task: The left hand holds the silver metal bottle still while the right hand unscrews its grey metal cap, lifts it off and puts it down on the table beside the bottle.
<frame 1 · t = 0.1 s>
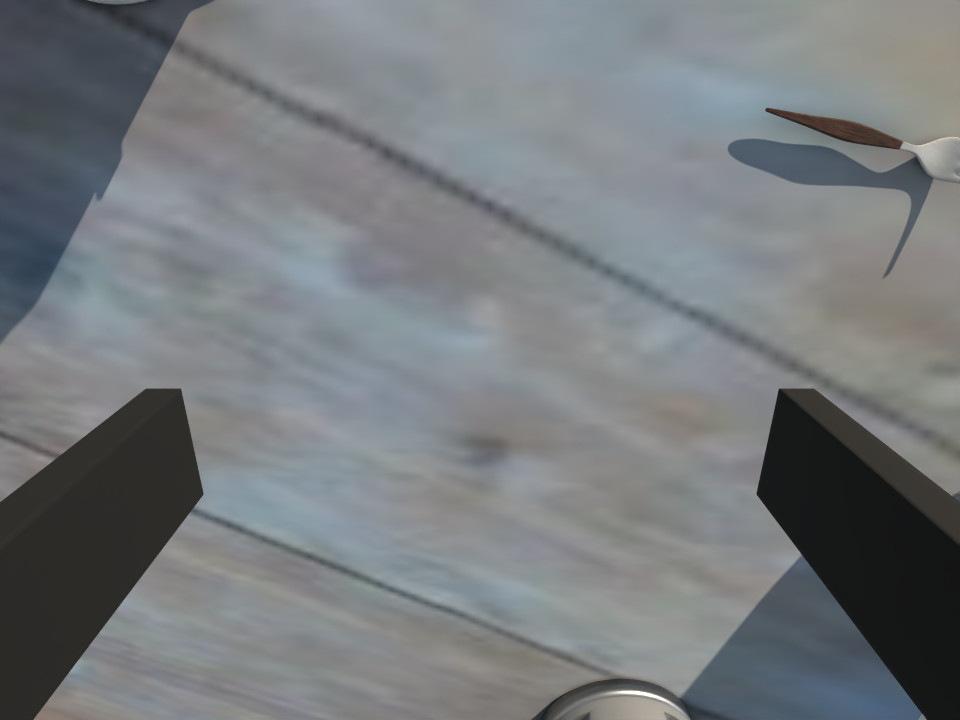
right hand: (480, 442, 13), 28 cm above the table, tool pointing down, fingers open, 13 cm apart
fork: (876, 140, 37), on the table
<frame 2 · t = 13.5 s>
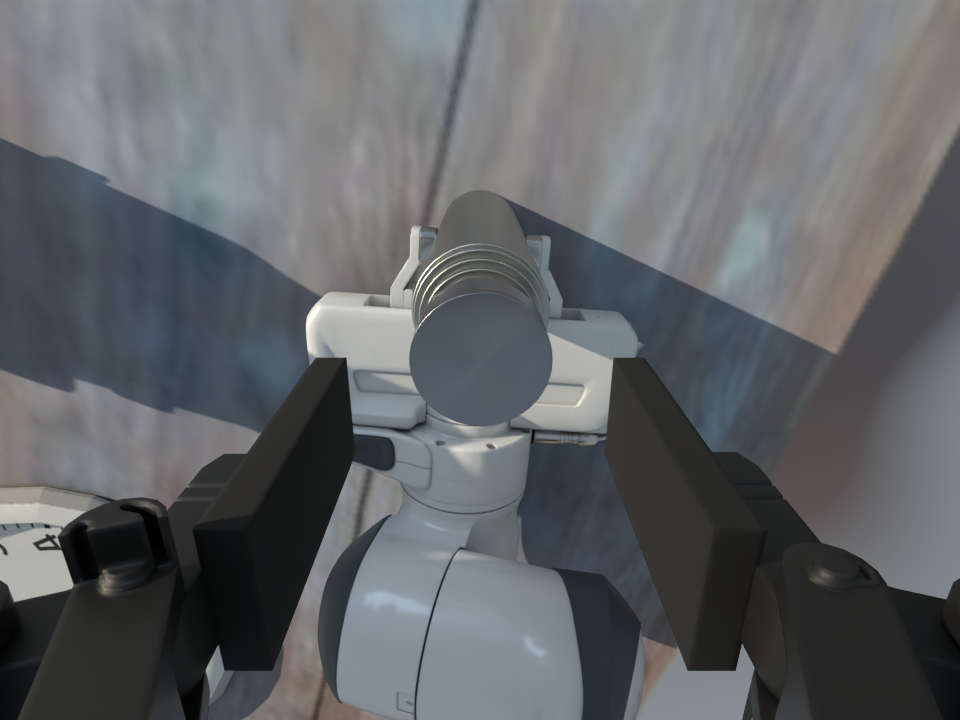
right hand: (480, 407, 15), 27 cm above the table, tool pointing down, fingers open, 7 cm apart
left hand: (480, 231, 34), fingers closed on bottle, 5 cm apart
cap: (480, 359, 18), point 24 cm above the table, screwed on, not yet turned
bottle: (480, 229, 40), on the table, touching left hand
wall clock: (77, 621, 53), on the table
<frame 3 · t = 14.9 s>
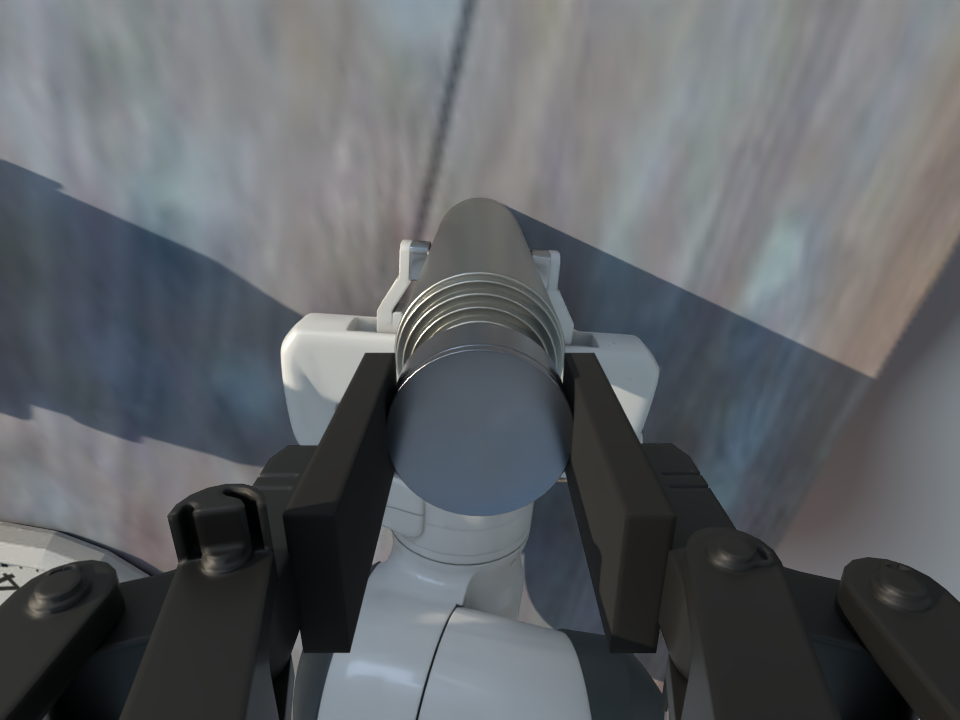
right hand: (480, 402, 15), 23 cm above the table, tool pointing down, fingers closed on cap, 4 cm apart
cap: (479, 431, 13), point 24 cm above the table, screwed on, not yet turned, touching right hand
bottle: (479, 241, 36), on the table, touching left hand
wall clock: (42, 664, 49), on the table
when the right hand's fingers open (2 cm above the table, at t = 31.3 s): cap drops 2 cm, point 2 cm above the table.
when the left hand's fingers open (6 cm above the table, at t = 32.7 s): bottle stays where it is, on the table.
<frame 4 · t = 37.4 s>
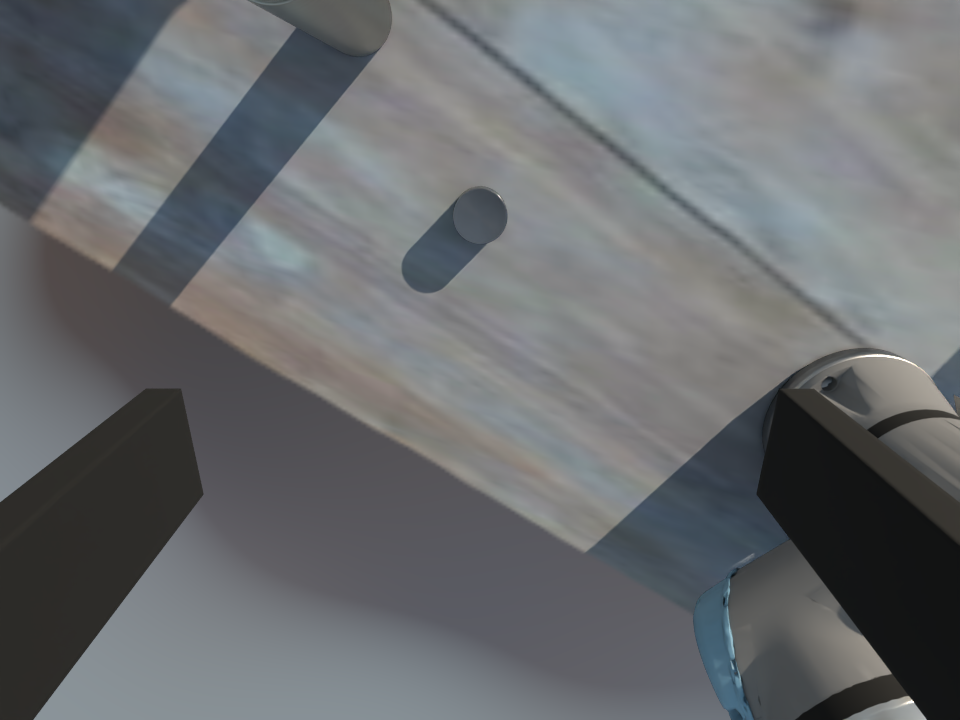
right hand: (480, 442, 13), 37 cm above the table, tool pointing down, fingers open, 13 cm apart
cap: (480, 216, 46), point 2 cm above the table, off its thread
bottle: (355, 16, 42), on the table
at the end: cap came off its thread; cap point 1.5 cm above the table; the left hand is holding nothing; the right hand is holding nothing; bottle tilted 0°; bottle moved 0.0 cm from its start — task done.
